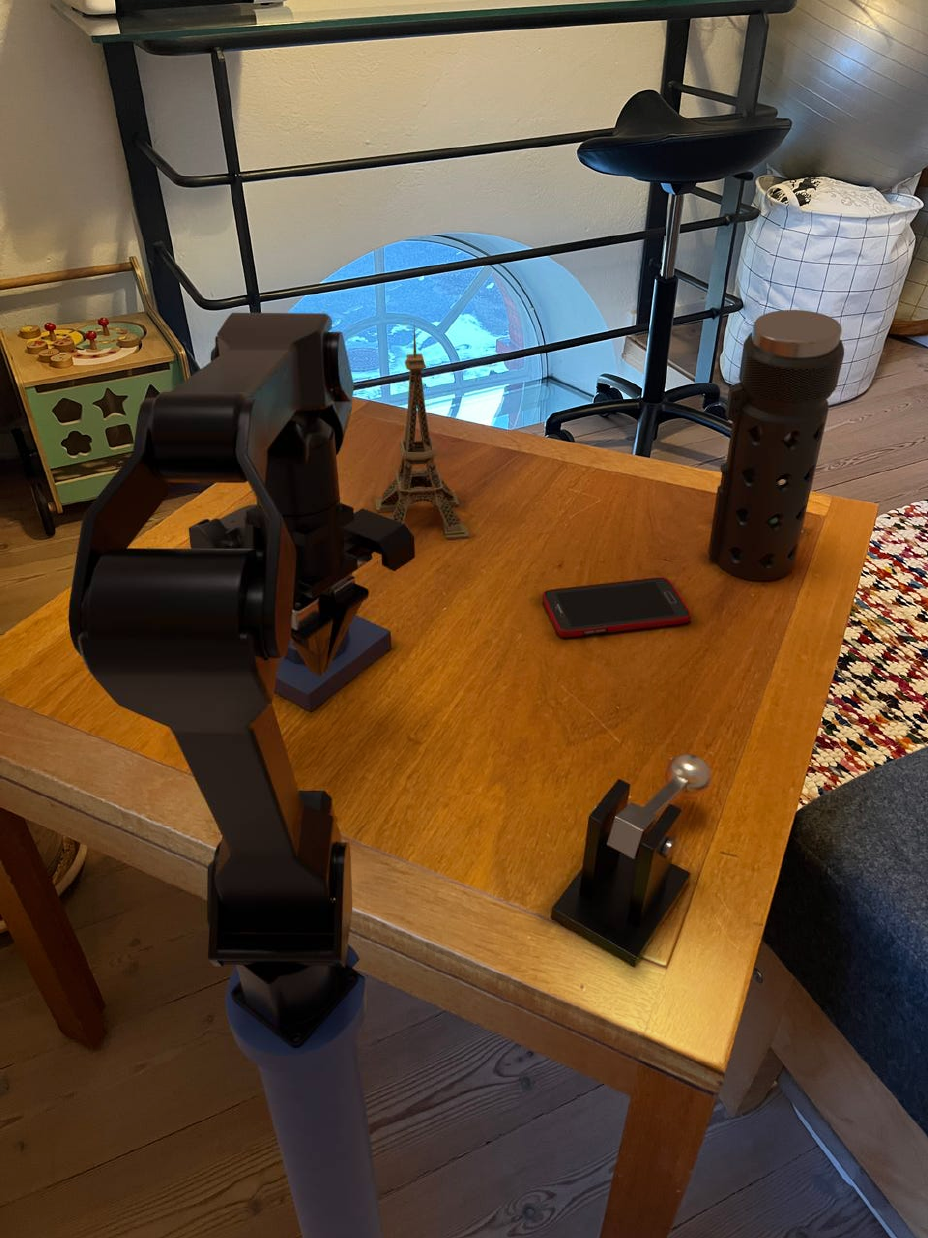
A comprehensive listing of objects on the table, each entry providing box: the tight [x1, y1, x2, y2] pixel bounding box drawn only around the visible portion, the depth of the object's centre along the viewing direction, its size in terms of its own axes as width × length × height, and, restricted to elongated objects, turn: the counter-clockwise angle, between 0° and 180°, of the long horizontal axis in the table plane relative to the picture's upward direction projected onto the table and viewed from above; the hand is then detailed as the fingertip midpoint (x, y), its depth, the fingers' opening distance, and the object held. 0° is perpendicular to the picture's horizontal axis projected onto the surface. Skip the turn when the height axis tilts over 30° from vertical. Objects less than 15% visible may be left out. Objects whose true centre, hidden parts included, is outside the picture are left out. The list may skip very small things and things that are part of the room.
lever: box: [607, 752, 713, 859], centre depth 69 cm, size 14×4×4 cm, turn 144°
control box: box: [274, 614, 392, 712], centre depth 91 cm, size 12×10×4 cm
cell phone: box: [541, 577, 692, 638], centre depth 98 cm, size 8×15×1 cm, turn 101°
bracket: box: [550, 778, 692, 968], centre depth 66 cm, size 9×7×10 cm
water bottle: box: [707, 309, 845, 582], centre depth 98 cm, size 10×28×10 cm
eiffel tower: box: [374, 326, 470, 541], centre depth 107 cm, size 11×11×25 cm
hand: (318, 671), depth 72 cm, fingers closed
